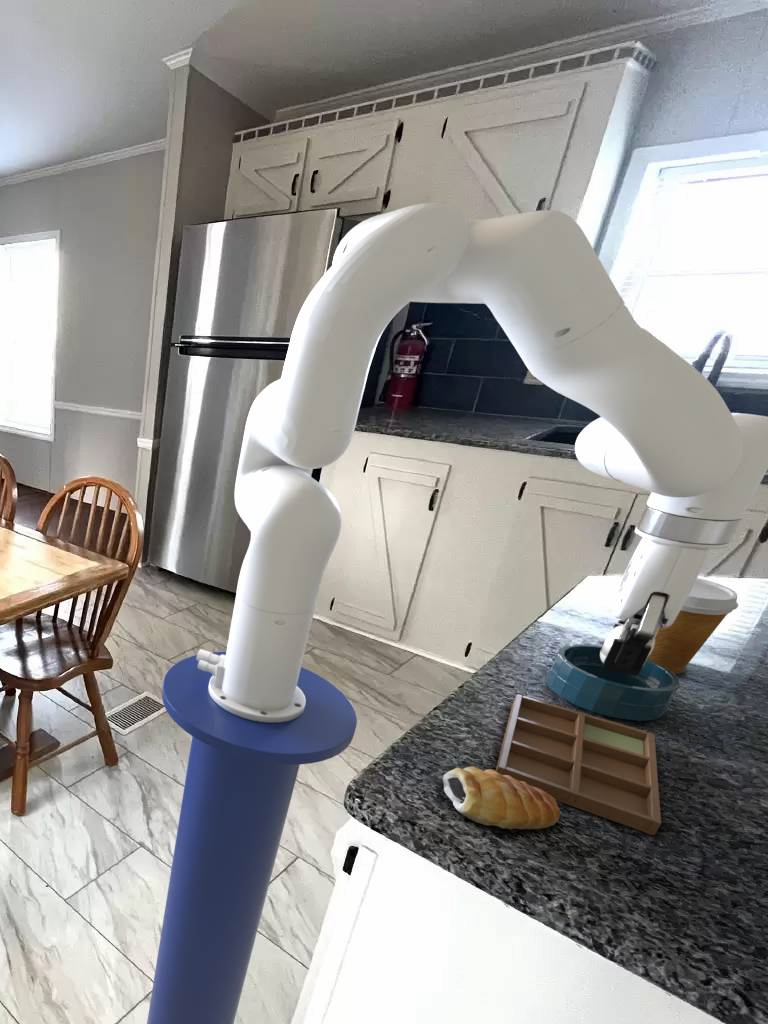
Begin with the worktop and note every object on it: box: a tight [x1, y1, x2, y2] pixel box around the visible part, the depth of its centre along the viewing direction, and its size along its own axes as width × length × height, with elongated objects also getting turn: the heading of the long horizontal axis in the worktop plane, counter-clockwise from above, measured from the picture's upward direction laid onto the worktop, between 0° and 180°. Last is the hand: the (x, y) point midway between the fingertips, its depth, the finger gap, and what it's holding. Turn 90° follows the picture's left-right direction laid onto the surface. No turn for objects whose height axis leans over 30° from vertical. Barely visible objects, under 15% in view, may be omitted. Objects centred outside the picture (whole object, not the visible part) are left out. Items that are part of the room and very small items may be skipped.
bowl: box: [545, 643, 681, 722], centre depth 81 cm, size 11×11×5 cm
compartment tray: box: [495, 693, 662, 836], centre depth 71 cm, size 13×19×2 cm
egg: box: [600, 624, 655, 666], centre depth 79 cm, size 4×4×6 cm
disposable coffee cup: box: [648, 577, 739, 675], centre depth 87 cm, size 10×10×12 cm
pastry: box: [442, 765, 561, 831], centre depth 65 cm, size 9×7×4 cm
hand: (620, 661), depth 80 cm, fingers closed on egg, 4 cm apart
